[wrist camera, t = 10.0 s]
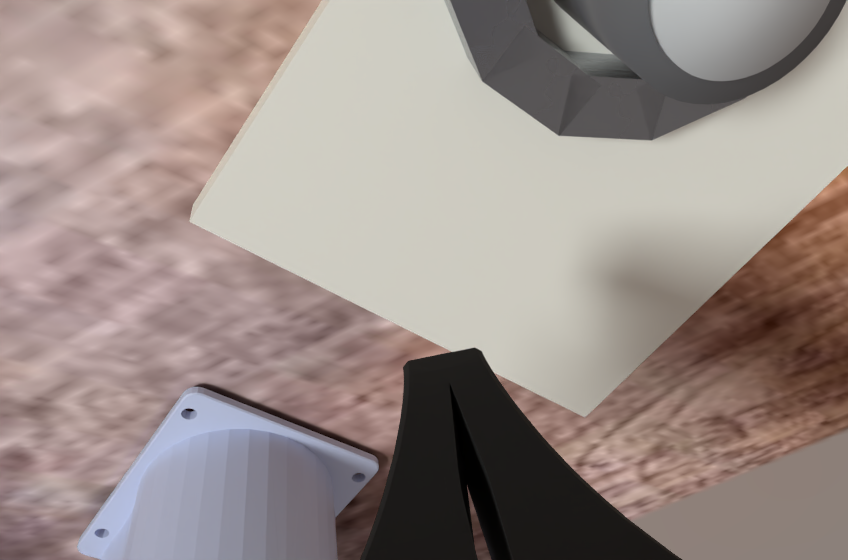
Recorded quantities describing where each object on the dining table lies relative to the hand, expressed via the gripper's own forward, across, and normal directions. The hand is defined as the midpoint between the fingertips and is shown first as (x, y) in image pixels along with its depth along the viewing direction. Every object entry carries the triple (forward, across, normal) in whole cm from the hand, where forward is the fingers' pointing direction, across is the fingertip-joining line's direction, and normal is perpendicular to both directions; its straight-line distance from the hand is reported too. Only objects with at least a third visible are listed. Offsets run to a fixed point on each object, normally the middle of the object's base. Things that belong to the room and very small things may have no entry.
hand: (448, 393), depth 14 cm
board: (+10, -7, -1) cm, 12 cm away
